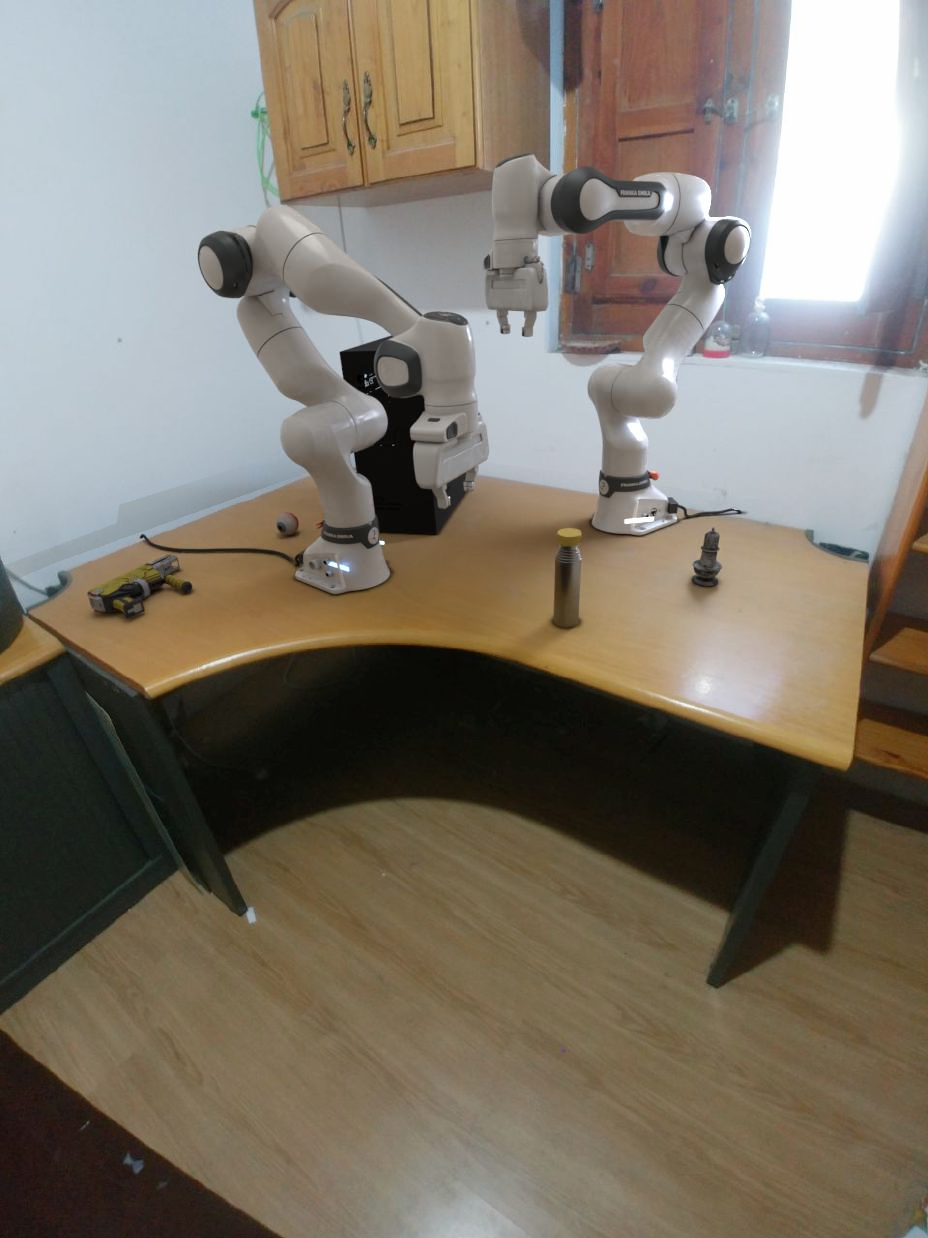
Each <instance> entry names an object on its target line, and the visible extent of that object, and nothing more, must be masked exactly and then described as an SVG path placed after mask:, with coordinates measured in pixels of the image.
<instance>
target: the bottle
mask: <svg viewBox="0 0 928 1238" xmlns="http://www.w3.org/2000/svg"><path fill="white" fill-rule="evenodd" d="M582 560H583V557H582V553H581V551H580V549H579V545H577V546H571V547H567V546H562V545H559V546H558V548H557V551H556V553H555V556H554V583H553V584H554V585H553V587H554V588H553V619H552V620H553V624H554V625H555V626H557V627H560V628H566V629H569V628H574V627H576V626H577V625H578V624H579V619H580V601H581V599H580V598H581V580H582V579H581V577H582Z"/></svg>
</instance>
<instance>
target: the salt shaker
mask: <svg viewBox="0 0 928 1238" xmlns="http://www.w3.org/2000/svg"><path fill="white" fill-rule="evenodd" d="M719 543H720V533H719V532H717V531H716V528H715V527H712V528H711V530H709V531H706V532H705V533H704V537H703V543H702V545H701V547H700V549H701V553H700V558H699V559H696V560H694V561H692V566H693V571H694V575H692V577H691V581H692V582H693V583H694V584H697V585H699V586H705V587H709V586H710V587H711V586H715V585H717V584H718V583H719V579H718V578H717V577H716V576H718V574H719V573H720V572H721V570H722V569H723V565H722V563H720V562H719V561H717V557H718V552H719V551H720V547H719Z"/></svg>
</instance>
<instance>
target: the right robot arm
mask: <svg viewBox="0 0 928 1238" xmlns="http://www.w3.org/2000/svg"><path fill="white" fill-rule="evenodd" d="M711 200H712V194H711V189H710V186H709V185H708V183H707V182H706V181H705V180H704V179H703V178H701V177H698V176H695V175H692V174H689V173H682V172H675V171H673V172H672V171H660V172H659V171H658V172H651V173H646V174H641V175H640V176H637V177H635V178H633V179H632V180H624V179H623V180H621V179H613V178H610V177H609V176H607V175H606V174H604V173H603V172H601V171H600V170H599V169H596V168H594V167H592V166H585V165H584V166H579V167H577V168H575V169H573V170H569V171H568V172H566V173H565V172H564V173H562V174H559V175H558V174H556V173H554V172H552V171H551V170H549V169H547V168H546V167H545V166H543V165H542V163H540V161H539V160H538V159H537V157H536V156H535V153H531V152H525V153H520V154H517V155H513V156H509V157H507V158H504V159H501V160H500V161H499V162H497V164H496V165H495V167H494V170H493V174H492V183H491V216H492V220H493V227H494V228H493V235H492V248H491V249H490V250H489V252H488V253H487V254H486V255H485V256H484V257H483V258H482V269H483V271H485V273H484V297H485V304H486V306H487V307H486V308H487V309H488V310H492V311H496V318H497V321H498V323H499V324H498V325H499V333H500V335H510V334H511V324H509V318H508V316H509V312H523V318H524V323H523V326H522V327H521V336H522V337H523V338H531V337H533V335H534V326H535V324H536V320H537V318H538V316H537V315H538V314H537V313H540V312H546V311H547V310H548V308H549V307H548V306H549V303H550V297H549V296H550V295H549V279H548V278H549V277H548V273H547V269H546V268H545V263H544V262H543V260H542V258H541V256H539V236H542V237H546V238H547V237H549V238H550V237H557V236H558V237H560V236H566V235H567V236H568V235H585V234H586V235H587V234H589V233H592V232H594V231H595V230H597V229H598V228H600V227H602V226H603V225H605V224H606V223H608V222H623V224H624V226H625V227H626V230H628V232H629V233H631V234H634V235H639V236H645V237H658V242H657V248H656V259H657V264H658V267H659V269H660V270H661V271H662V272H663V273H664V274H666V275H669V276H672V277H682V279H681V283H680V285H679V287H678V289H677V291H676V292H675V294H674V295H673V296H672V297H671V298H670V300H669V301H668V302H667V303H666V305H665V306H664V307H663V308H662V310H661V311H660V313H659V314H658V315H657V316H656V318H655V319H654V320H653V322H652V323H651V324H650V326H649V327H647V330H646V331H645V332H644V335H643V337H642V345H643V350H644V351H643V353H642V356H641V358H640V359H639V360H638V361H637V363H635V364H625V363H619V362H615V363H614V362H613V363H607V364H604V365H601V366H597V368H595V369H594V371H593V372H591V374H590V376H589V378H588V380H587V395H588V398H589V399H590V401H591V402H592V404H593V406H594V408H595V411H596V414H597V417H598V418H597V419H598V421H599V427H600V432H601V440H602V447H601V448H602V449H601V450H602V451H601V468H600V470H599V474H598V492H599V493H598V498H597V502H596V507H595V511H594V514H593V517H592V520H591V525H592V526H593V527H594V528H595V529H597V530H599V531H601V532H605V533H611V534H623V535H625V534H626V535H632V536H633V535H634V536H645V535H646V534H650V533H652V532H654V531H657V530H660V529H662V528H665V527H668V526H670V525H672V524H675V523H677V522H678V516H677V515H676V514H678V509H681V510H682V511H683V515H684V517H685V518H687V519H693V518H696V517H698V516H704V515H705V516H706V515H720V514H721V515H722V514H725V513H729V512H736V513H738V514H743V511H742V510H740V509H739V510H734V509H732V508H733V507H731V508H726V509H723V510H712V511H701V512H697V513H693V514H688V510H687V508H686V507H685V506H683V505H682V504H679V502H677V501H676V499H675V498H673V497H672V496H669V497H667V496H666V495H665V494H664V493H663V492H661V491H660V490H659V489H658V488H656V487H655V486H654V485H652V483H651V480H653V481H658V479H659V478H660V473H659V472H657V471H654V470H651V471H649V470H648V469H647V466H648V458H649V457H648V455H649V446H650V441H649V437H648V435H647V434H646V432H645V431H644V429H643V427H642V424H641V420H656V419H662V418H664V417H666V416H667V415H669V413H670V412H671V411H672V410H673V408H674V406H675V405H676V402H677V399H678V395H679V389H678V388H679V387H678V383H677V377H678V373H679V371H680V368H681V366H682V365H683V363H684V361H685V359H686V358H687V357H688V355H689V354H690V353H691V352H692V350H693V348H694V347H695V346H696V345H697V343H698V342H699V340H701V338H702V337H703V336H704V335H705V333H706V331H707V330H708V328H709V327H710V325H711V324H712V322H713V321H714V319H715V318H716V316H717V315H718V313H719V311H720V309H721V307H722V305H723V303H724V300H725V288H724V285H725V284H727V283H729V282H730V281H732V280H733V279H734V278H735V275H736V274H737V271H738V270H739V269H740V268H741V267H742V265H743V263H744V262H745V260H746V258H747V256H748V254H749V252H750V249H751V243H752V231H751V228H750V225H749V224H748V223H747V222H746V221H745V220H743V219H741V218H738V217H736V216H724V217H710V215H709V210H710V207H711Z"/></svg>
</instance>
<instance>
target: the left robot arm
mask: <svg viewBox="0 0 928 1238" xmlns="http://www.w3.org/2000/svg"><path fill="white" fill-rule="evenodd" d="M197 262H198V268H199V270H200V271H199V272H200V273H201V276H202V278H203V280H204V282H205V283H206V285H207V286H208V288H210V290H211V291H212V293H214V294H215V295H216V296H218V297H221V298H225V299H240V300H239V302H238V303H237V307H236V318H237V322H238V323H239V326H240V329H241V331H242V333H243V336H244V337H245V339H246V341H247V343H248V345H249V347H250V349H251V350H252V352H253V354H254V355H255V356H256V359H257V360H258V362H259V364H260V365H261V366H262V368H263V369H264V370H265V371H264V372H266V373H267V375H268V377H269V379H270V380H271V382H272V383H273V384H274V386H275V387H276V389H277V390H278V392H279V393H280V394H281V395H283V396H284V397H286V398H288V399H290V400H293V401H296V402H298V403H300V404H302V405H304V406H305V407H303V408H301V409H299V410H297V411H295V412H294V413H292V414H290V415H289V416H287V417H286V418H285V419H284V420H283V421H282V423H281V425H280V429H279V440H280V441H279V442H280V444H281V447H282V450H283V451H284V453H285V454H286V456H287V457H288V458H289V460H291V461H292V462H293V463H294V464H296V465H297V466H300V467H302V468H303V469H304V470H305V471H306V472H307V473H308V474H309V476H310V477H311V478H312V480H313V482H314V484H315V485H316V489H317V492H318V495H319V499H320V504H321V508H322V512H323V519H322V521H321V522H319V523H316V524H315V526H316V530H319V529H321V532H320V536H318V538H316V539H315V540H314V541H313V542H312V543H311V544H310V545H309V546H307V548H305V549H304V550H301V551H300V552H298V553H297V554H296V555H295V556H294V560H293V559H292V558H291V557H290V556H289V555H288V554H286V553H284V552H282V551H278V550H273V549H268V548H267V549H266V548H265V549H264V548H253V547H223V548H222V547H221V548H220V547H217V548H181V547H172V546H171V547H169V546H163V545H160V544H157V543H155V542H152V541H151V540H150V539H149V538H148V537H147V536H146V534H144V533H141V534H140V536H139V539H141V540H145V541H146V543H147V544H148V545H149V546H152V547H154V548H157V549H161V550H167V551H171V552H172V551H173V552H184V553H185V552H187V553H188V552H189V553H190V552H191V553H194V552H195V553H205V552H206V553H210V552H211V553H212V552H256V553H268V554H273V555H274V554H275V555H278V556H282V557H284V558H285V559H286V560H287V561H289V562H290V563H294V562H295V563H294V566H295V567H299V566H300V565H302V566H300V567H299V568H298V569H297V570H296V572H295V573H294V578H295V579H296V580H298V581H300V582H302V583H305V584H307V585H310V586H313V587H315V588H316V589H319V590H322V591H323V592H324V591H325V592H327V593H329V594H332V595H339V594H343V593H347V592H353V591H363V590H366V589H370V588H374V587H376V586H378V585H380V584H383V583H384V582H386V581H387V580H388V579H389V577H390V576H391V571H390V568H389V567H388V564H387V561H386V558H385V555H384V552H383V548H382V545H385V541H383V540H380V532H379V524H378V518H377V515H376V514H375V509H374V502H373V494H372V487H371V484H370V482H369V480H368V479H367V478H366V477H364V476H363V475H361V474H359V473H357V472H356V471H355V468H354V467H353V463H352V460H351V454H354V453H355V452H357V451H360V450H363V449H366V448H368V447H370V446H371V445H373V444H374V443H376V442H377V441H378V440H379V439H381V438H382V437H383V436H384V434H385V433H386V430H387V425H388V421H387V415H386V412H385V409H384V408H383V406H382V404H381V403H380V402H379V401H378V400H377V399H375V398H374V397H372V396H369V395H366V394H364V393H362V392H360V391H359V390H357V389H355V388H354V387H353V386H351V385H350V384H349V383H348V382H346V381H345V380H344V379H343V376H340V374H338V372H336V371H335V370H334V369H333V368H332V367H331V366H330V365H329V363H328V362H327V361H326V360H325V358H324V357H323V355H322V354H321V353H320V351H319V349H318V348H317V347H316V345H315V344H314V342H313V341H312V339H311V338H310V336H309V335H308V333H307V332H306V330H305V328H304V327H303V326H302V324H301V323H300V321H299V320H298V318H297V316H296V315H295V313H294V312H293V310H292V308H291V303H290V298H292V299H297V300H299V301H300V302H301V303H303V304H304V305H305V306H307V307H308V308H309V309H312V311H314V312H317V313H319V314H322V315H327V316H338V317H349V318H356V319H360V320H361V319H362V320H365V321H370V322H371V323H374V324H376V325H378V326H380V327H381V328H382V329H383V330H385V331H386V332H387V333H388V334H389V335H390V336H391V335H392V336H393V338H391V339H388V340H387V341H384V342H382V343H381V344H380V345H379V347H378V349H377V351H376V354H375V358H374V371H375V375H376V376H375V377H376V378H377V381H378V383H379V385H380V386H381V388H382V389H383V390H384V391H385V392H386V393H387V394H388V395H390V396H392V397H395V398H408V397H412V396H416V395H422V396H423V397H424V401H425V411H424V412H423V413H422V415H421V416H420V418H419V419H418V420H417V421H416V422H415V423H414V425H413V426H412V427H411V429H410V436H411V439H412V440H415V441H416V443H415V444H414V448H413V458H414V469H415V476H416V481H417V483H418V485H419V486H420V487H421V488H425V489H432V491H433V492H434V494H435V496H436V498H437V502H438V507H439V508H443V509H446V508H447V507H449V506H450V505H451V503H450V496H447V494H446V491H445V490H446V489H447V483H448V482H450V481H452V480H453V479H455V478H457V477H459V476H460V475H462V474H464V473H465V472H466V479H465V481H464V482H463V485H464V491H466V493H471V492H473V491H475V490H476V488H477V486H476V485H477V483H476V482H477V477H478V474H479V465H481V464H483V463H484V462H486V461H488V458H489V455H490V445H489V444H490V443H489V437H488V435H489V434H488V429H487V425H486V422H485V421H484V420H483V415H482V414H481V412H480V411H479V407H478V406H479V405H478V402H479V401H478V395H477V391H476V388H475V380H476V374H477V362H476V352H475V351H476V350H475V341H474V335H473V330H472V328H471V325H470V322H469V321H468V319H467V318H466V317H464V316H463V315H461V314H459V313H456V312H451V311H442V310H441V311H437V310H436V311H428V312H425V313H421V311H419V310H418V309H417V308H416V307H414V306H413V305H412V304H411V303H410V302H408V301H407V300H406V299H405V298H404V297H402V296H401V295H400V294H399V293H398V292H397V291H396V290H395V289H393V288H392V287H391V286H390V285H388V284H387V283H385V282H384V281H383V280H381V279H380V278H379V277H377V276H375V275H374V274H373V273H372V272H370V271H369V270H367V269H366V268H365V267H363V266H362V265H360V264H359V263H358V262H357V261H356V260H355V259H353V257H351V256H350V255H349V254H348V253H346V252H345V251H344V250H343V249H342V248H341V247H339V245H337V244H336V242H334V241H333V240H332V239H331V238H330V237H329V236H328V235H327V234H326V233H325V231H323V230H322V229H321V228H320V227H319V226H317V225H316V223H314V222H313V221H312V220H310V219H309V218H308V217H306V216H305V215H303V214H302V213H301V212H299V211H297V210H296V209H294V208H293V207H290V206H289V205H285V204H275V205H272V206H270V207H268V208H266V209H265V210H264V211H263V212H262V213H261V215H260V216H259V217H258V220H257V222H256V224H249V225H246V226H241V227H237V228H231V229H228V230H218V231H217V230H216V231H214V232H211V233H210V234H207V235H206V236H204V237H203V238H201V240H200V242H199V245H198V249H197Z"/></svg>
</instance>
